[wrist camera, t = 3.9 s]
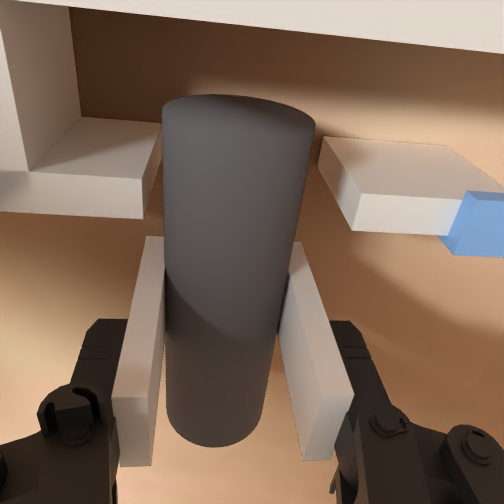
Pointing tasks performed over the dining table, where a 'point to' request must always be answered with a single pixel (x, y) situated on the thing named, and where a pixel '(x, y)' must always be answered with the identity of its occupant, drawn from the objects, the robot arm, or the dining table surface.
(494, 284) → the dining table surface
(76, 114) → the white u-shaped bracket
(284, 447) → the dining table surface
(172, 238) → the dark gray cylinder
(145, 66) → the dining table surface
